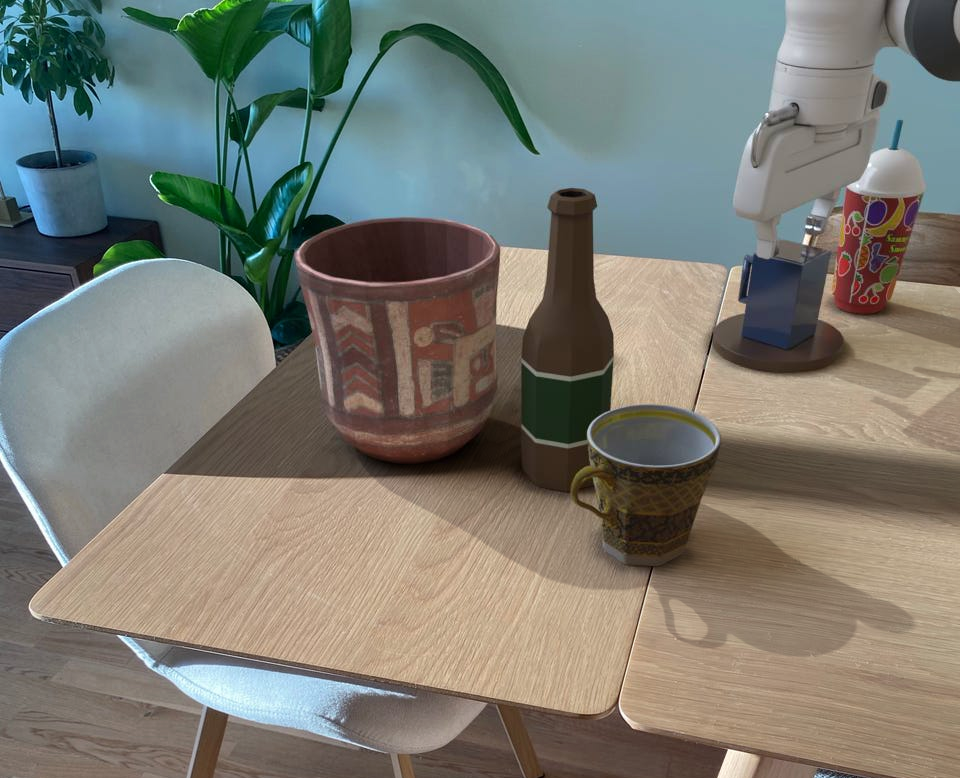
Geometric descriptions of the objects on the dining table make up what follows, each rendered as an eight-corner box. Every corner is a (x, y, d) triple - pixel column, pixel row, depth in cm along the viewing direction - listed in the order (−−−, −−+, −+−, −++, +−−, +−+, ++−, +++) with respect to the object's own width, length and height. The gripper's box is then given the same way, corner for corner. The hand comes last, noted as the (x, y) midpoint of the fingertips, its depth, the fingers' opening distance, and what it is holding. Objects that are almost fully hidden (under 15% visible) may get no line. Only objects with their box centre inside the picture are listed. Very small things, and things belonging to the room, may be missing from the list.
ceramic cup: (644, 498, 85) (654, 391, 79) (731, 548, 79) (749, 437, 72) (528, 552, 79) (529, 441, 73) (612, 611, 73) (620, 496, 67)
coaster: (859, 336, 110) (861, 326, 109) (815, 383, 101) (817, 372, 100) (742, 312, 116) (743, 302, 115) (691, 354, 107) (692, 344, 107)
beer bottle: (560, 442, 93) (567, 172, 78) (624, 469, 89) (645, 190, 73) (503, 472, 89) (499, 194, 74) (567, 503, 85) (578, 215, 69)
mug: (815, 333, 108) (831, 250, 102) (787, 350, 105) (802, 264, 99) (749, 314, 112) (761, 233, 106) (720, 329, 109) (731, 247, 103)
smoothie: (886, 323, 112) (933, 133, 99) (814, 311, 116) (850, 125, 103) (902, 299, 118) (948, 115, 105) (832, 288, 121) (869, 109, 108)
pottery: (309, 484, 88) (276, 287, 77) (332, 397, 102) (308, 217, 90) (503, 480, 88) (501, 281, 76) (502, 393, 101) (499, 212, 90)
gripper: (790, 120, 85) (763, 278, 94) (899, 83, 96) (866, 228, 105) (728, 110, 89) (708, 263, 98) (841, 75, 100) (813, 216, 109)
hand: (791, 244), depth 101 cm, fingers open, 8 cm apart
